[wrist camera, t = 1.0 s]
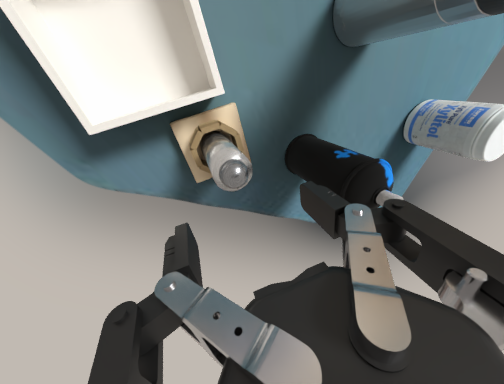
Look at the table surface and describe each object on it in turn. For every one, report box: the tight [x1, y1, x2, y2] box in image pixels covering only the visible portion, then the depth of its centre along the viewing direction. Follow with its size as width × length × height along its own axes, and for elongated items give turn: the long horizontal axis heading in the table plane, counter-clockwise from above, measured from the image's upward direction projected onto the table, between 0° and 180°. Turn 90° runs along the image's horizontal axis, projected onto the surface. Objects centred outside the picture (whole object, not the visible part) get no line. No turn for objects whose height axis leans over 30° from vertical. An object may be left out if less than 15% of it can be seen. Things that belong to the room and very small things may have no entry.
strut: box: [200, 131, 253, 191], centre depth 26 cm, size 5×5×14 cm
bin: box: [0, 0, 225, 135], centre depth 21 cm, size 16×16×6 cm
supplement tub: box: [404, 100, 504, 162], centre depth 39 cm, size 10×10×15 cm
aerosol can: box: [285, 134, 403, 209], centre depth 31 cm, size 8×8×20 cm
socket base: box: [170, 103, 251, 183], centre depth 31 cm, size 10×10×4 cm
